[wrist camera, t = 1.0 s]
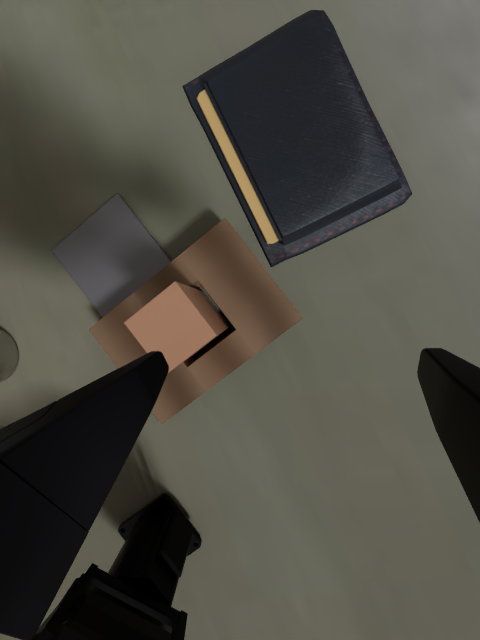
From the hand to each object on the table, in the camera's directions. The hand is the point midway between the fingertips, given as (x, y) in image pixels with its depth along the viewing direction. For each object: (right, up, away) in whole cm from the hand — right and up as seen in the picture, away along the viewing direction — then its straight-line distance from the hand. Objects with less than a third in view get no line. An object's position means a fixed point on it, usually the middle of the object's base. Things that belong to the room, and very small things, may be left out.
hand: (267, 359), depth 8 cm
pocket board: (-5, +1, +14) cm, 15 cm away
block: (-5, +1, +15) cm, 15 cm away
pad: (-14, +8, +15) cm, 22 cm away
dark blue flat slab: (+4, +18, +14) cm, 24 cm away
